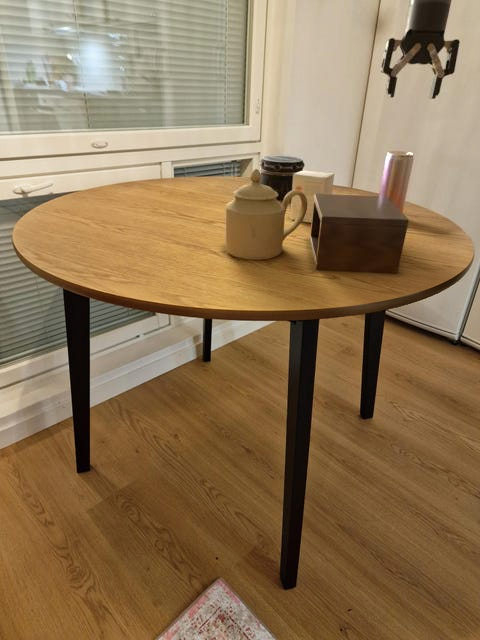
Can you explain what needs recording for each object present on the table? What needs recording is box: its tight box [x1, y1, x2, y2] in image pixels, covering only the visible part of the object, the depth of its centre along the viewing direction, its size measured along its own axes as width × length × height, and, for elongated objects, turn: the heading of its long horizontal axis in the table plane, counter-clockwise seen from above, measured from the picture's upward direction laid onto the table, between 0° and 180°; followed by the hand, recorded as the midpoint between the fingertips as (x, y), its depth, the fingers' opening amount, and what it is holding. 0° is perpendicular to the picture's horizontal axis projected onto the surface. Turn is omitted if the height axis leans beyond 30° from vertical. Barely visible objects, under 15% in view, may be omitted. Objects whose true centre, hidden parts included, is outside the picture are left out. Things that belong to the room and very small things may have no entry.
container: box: [258, 155, 305, 200], centre depth 120 cm, size 13×13×10 cm
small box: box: [290, 169, 335, 223], centre depth 98 cm, size 8×6×10 cm
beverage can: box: [378, 150, 415, 214], centre depth 99 cm, size 6×6×15 cm
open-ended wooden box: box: [309, 194, 410, 274], centre depth 78 cm, size 14×16×9 cm
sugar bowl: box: [224, 168, 307, 261], centre depth 79 cm, size 15×11×15 cm
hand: (411, 98), depth 89 cm, fingers open, 8 cm apart
